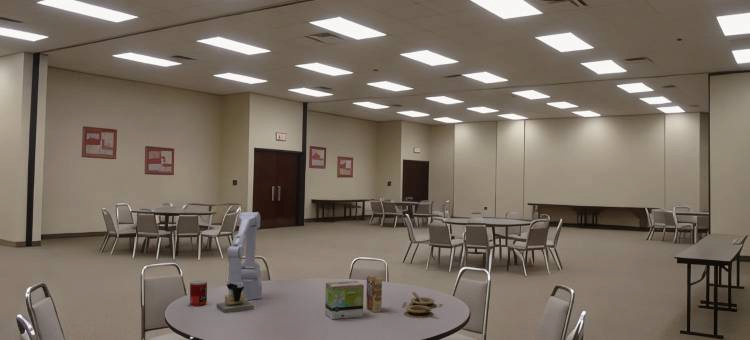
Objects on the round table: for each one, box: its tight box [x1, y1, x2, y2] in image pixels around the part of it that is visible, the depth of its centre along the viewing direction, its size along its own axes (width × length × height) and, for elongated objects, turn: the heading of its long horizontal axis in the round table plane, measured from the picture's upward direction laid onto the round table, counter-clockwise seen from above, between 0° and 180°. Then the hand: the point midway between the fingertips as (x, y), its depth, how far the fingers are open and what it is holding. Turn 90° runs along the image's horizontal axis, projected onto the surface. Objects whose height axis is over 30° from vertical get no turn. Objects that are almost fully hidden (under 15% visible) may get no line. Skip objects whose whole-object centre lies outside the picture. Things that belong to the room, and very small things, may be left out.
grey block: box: [228, 289, 234, 296], centre depth 268 cm, size 4×4×3 cm
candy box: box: [365, 275, 383, 313], centre depth 267 cm, size 9×4×15 cm, turn 26°
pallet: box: [224, 293, 245, 304], centre depth 268 cm, size 8×5×4 cm, turn 122°
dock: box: [216, 300, 255, 314], centre depth 268 cm, size 14×12×2 cm
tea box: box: [324, 280, 365, 320], centre depth 256 cm, size 15×10×15 cm, turn 114°
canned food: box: [189, 279, 208, 307], centre depth 276 cm, size 8×8×11 cm
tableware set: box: [401, 291, 443, 319], centre depth 267 cm, size 30×20×6 cm, turn 170°
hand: (235, 300), depth 268 cm, fingers closed on pallet, 5 cm apart
